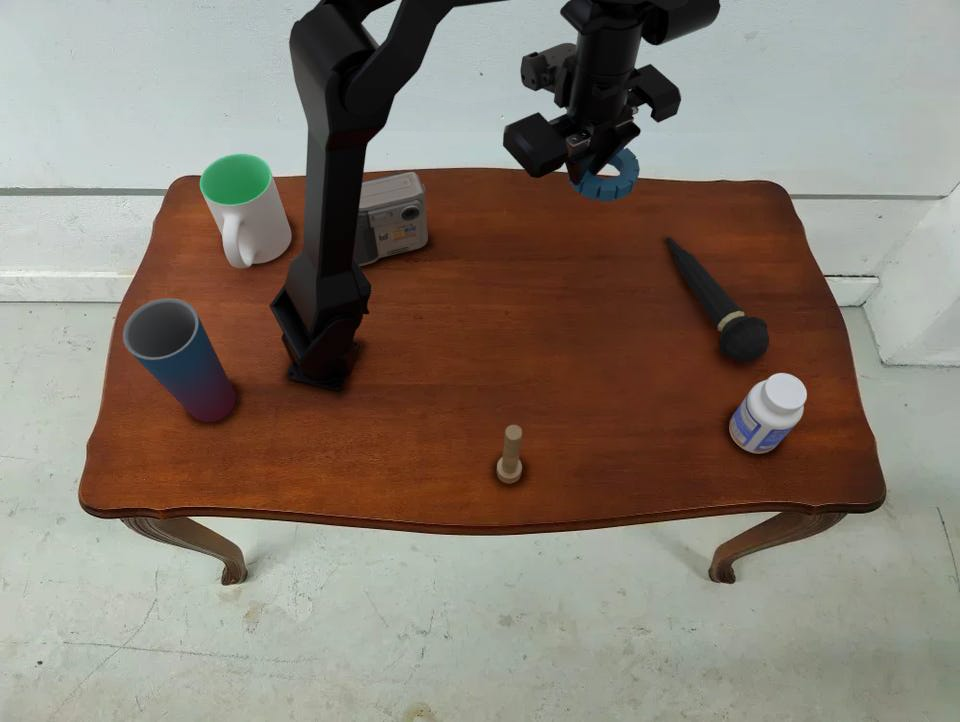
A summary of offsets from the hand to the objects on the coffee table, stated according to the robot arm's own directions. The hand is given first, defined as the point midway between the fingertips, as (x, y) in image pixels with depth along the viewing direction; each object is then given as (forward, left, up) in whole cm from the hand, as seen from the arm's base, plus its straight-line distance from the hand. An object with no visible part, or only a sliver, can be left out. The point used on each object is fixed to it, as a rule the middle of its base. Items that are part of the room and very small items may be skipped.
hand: (582, 179), depth 79 cm
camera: (-23, -6, -12) cm, 26 cm away
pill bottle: (+24, -20, -12) cm, 34 cm away
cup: (-34, -32, -12) cm, 48 cm away
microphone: (+18, -4, -12) cm, 22 cm away
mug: (-38, -11, -12) cm, 41 cm away
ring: (+2, +2, -1) cm, 3 cm away
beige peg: (0, -31, -12) cm, 33 cm away
